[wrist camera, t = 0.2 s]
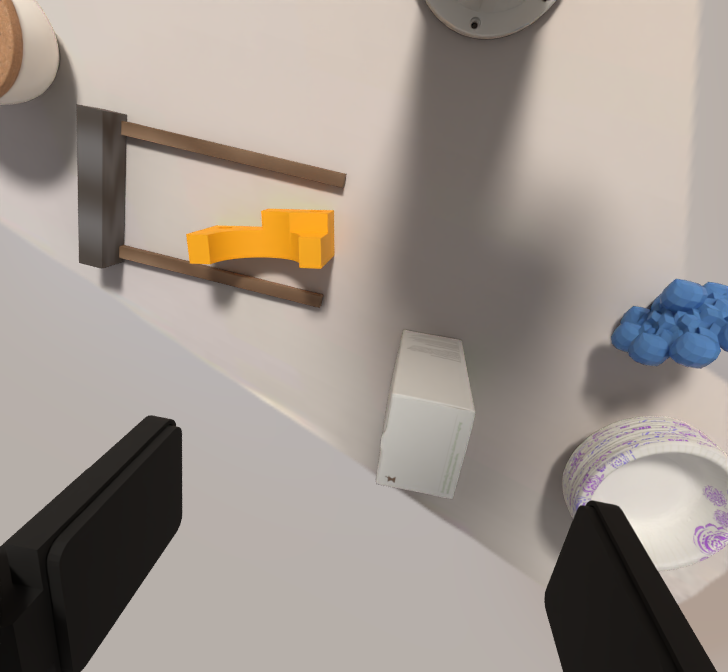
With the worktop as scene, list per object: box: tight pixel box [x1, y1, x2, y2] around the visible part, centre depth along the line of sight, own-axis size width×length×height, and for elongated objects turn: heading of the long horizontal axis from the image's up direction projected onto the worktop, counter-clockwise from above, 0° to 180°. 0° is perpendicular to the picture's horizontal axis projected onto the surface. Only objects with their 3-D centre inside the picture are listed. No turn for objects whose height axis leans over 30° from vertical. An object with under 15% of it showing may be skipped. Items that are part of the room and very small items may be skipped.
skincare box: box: [376, 330, 476, 499], centre depth 41 cm, size 8×7×16 cm
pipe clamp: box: [186, 209, 334, 269], centre depth 42 cm, size 12×4×6 cm, turn 89°
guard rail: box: [76, 104, 346, 308], centre depth 44 cm, size 14×24×4 cm, turn 78°
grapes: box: [611, 279, 728, 369], centre depth 37 cm, size 12×7×12 cm, turn 120°
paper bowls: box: [562, 416, 728, 572], centre depth 46 cm, size 15×15×8 cm
